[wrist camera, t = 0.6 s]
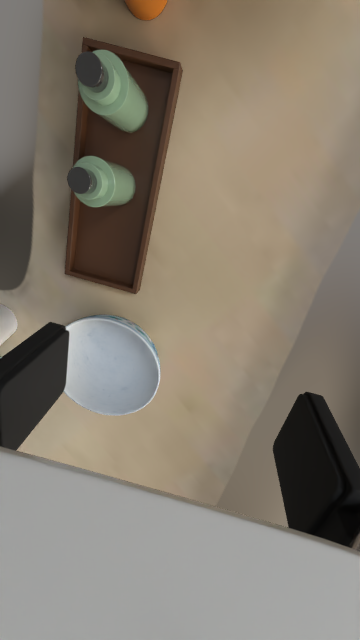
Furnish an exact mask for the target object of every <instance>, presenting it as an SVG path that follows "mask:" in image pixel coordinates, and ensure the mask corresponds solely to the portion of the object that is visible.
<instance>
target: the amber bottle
mask: <svg viewBox="0 0 360 640" xmlns="http://www.w3.org/2000/svg"><path fill="white" fill-rule="evenodd" d="M125 2H126V4H127V6H128V8H129V10H130V11H131V13H132V14H133V15H134V16H136V17H137V18H139V19H142V20H151V19H154V18H155V17H157V16H158V15H159V14H160V13H161V12H162V11H163V9H164V7H165V5H166V3H167V0H125Z"/></svg>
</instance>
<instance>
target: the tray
mask: <svg viewBox="0 0 360 640" xmlns="http://www.w3.org/2000/svg"><path fill="white" fill-rule="evenodd" d="M96 50H108V51H110V52H112V53H114V54H115V55H116V56H117V57H118V58H119V59H120V60H121V61H122V63H123V64H124V65H125V67H126V68H127V70H128V71H129V72H130V74H131V75H132V77H133V78H134V79H135V81H136V82H137V84H138V85H139V86H140V88H141V89H142V91H143V92H144V94H145V96H146V98H147V101H148V116H147V119H146V121H145V123H144V125H143V126H142V127H141V128H140V129H139V130H137V131H135V132H131V133H127V132H123V131H121V130H119V129H118V128H116V127H115V126H114V125H112V124H111V123H109V122H108V121H106V120H105V119H103V118H102V117H100V116H99V115H98V114H96V113H95V112H93V111H92V110H91V109H89V108H88V106H87V105H86V104H85V102H84V101H83V99H82V97H81V94H80V91H79V95H78V108H77V121H76V135H75V148H74V161H73V167H74V165H75V163H76V162H77V161H78V160H79V159H81V158H83V157H85V156H96V157H99V158H102V159H105V160H108V161H111V162H113V163H116V164H119V165H122V166H124V167H126V168H127V169H128V170H129V171H130V172H131V173H132V175H133V177H134V180H135V185H136V188H135V193H134V196H133V198H132V199H131V200H130V201H129V202H128V203H127V204H125V205H121V206H107V207H90V206H88V205H86V204H84V203H82V202H81V201H80V200H79V199H78V198H77V196H76V195H75V193H74V191H73V190H72V189H71V200H70V213H69V226H68V239H67V252H66V265H65V274H67V275H70V276H74V277H78V278H81V279H85V280H88V281H92V282H95V283H99V284H102V285H106V286H110V287H113V288H117V289H120V290H124V291H127V292H131V293H134V294H136V293H137V292H138V291H139V290H140V286H141V281H142V275H143V270H144V265H145V260H146V255H147V250H148V245H149V240H150V235H151V230H152V225H153V220H154V214H155V209H156V204H157V199H158V194H159V189H160V184H161V179H162V174H163V169H164V164H165V159H166V153H167V148H168V143H169V138H170V133H171V128H172V123H173V118H174V113H175V108H176V103H177V98H178V92H179V87H180V82H181V77H182V72H183V70H182V67H181V64H180V62H176V61H172V60H168V59H165V58H161V57H157V56H153V55H149V54H146V53H142V52H138V51H134V50H131V49H127V48H123V47H119V46H116V45H112V44H108V43H104V42H100V41H97V40H93V39H89V38H85V37H83V45H82V53H83V52H86V51H89V52H93V51H96Z"/></svg>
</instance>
